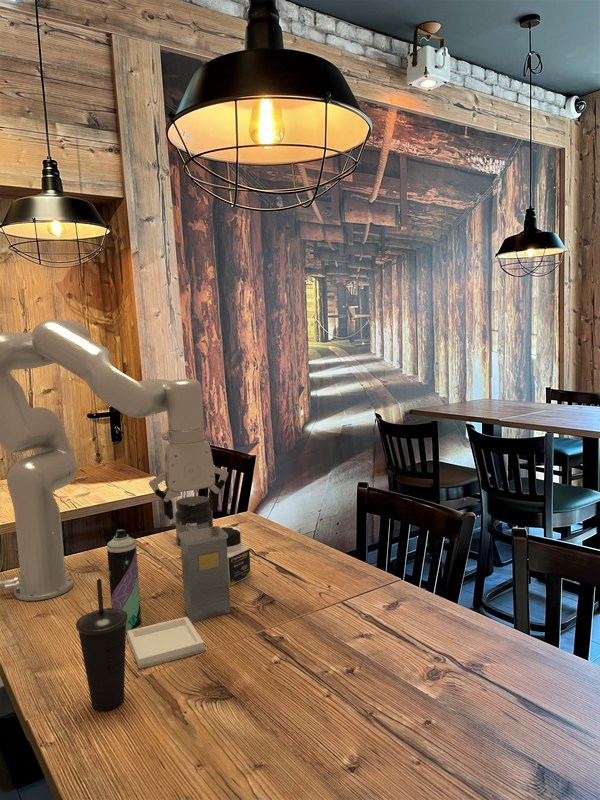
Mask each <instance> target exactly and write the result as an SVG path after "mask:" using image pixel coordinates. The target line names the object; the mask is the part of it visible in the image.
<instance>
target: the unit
mask: <svg viewBox="0 0 600 800" xmlns="http://www.w3.org/2000/svg"><path fill="white" fill-rule="evenodd" d="M221 528H222V527H220V526H219V525H215V526H214V525H213V527H208V528H202V529H197V530H191V531H186V532H180V533H178V537H179V538H180V540H181V545H180V553H181V554H180V555H181V569H182V585H183V586H182V587H183V605H184V612H185V613H186V614H187V617H188V619H189V620H190V622H191V623H196V622H200V621H204V620H208V619H211V618H217V617H219V616H224V615H228V614H231V603H230V601H231V599H230V598H231V597H230V586H229V578H228V559H227V541H226V538H228V534H227V533H226V532H225V531H224V530H222V529H221Z"/></svg>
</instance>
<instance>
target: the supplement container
mask: <svg viewBox="0 0 600 800" xmlns="http://www.w3.org/2000/svg"><path fill="white" fill-rule="evenodd" d="M175 509H176V511H175V513H174V517H175V533H176V534H175V535H176V537H175V539H176V542H177V544H178V545H180V546H181V540H180V538H179V537H178V533H180V532H186V531H191V530H197V529H202V528H208V527H214V523H213V522H214V521H213V520H214V519H213V517H214V516H213V514H214V512H213V511H212V510H211V509H210V506H209V496H205V495H204V496H203V495H202V496H201V495H194V496H192V495H191V496H185V497H181V498H180V499H177V500H176V502H175Z"/></svg>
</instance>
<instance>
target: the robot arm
mask: <svg viewBox="0 0 600 800" xmlns="http://www.w3.org/2000/svg"><path fill="white" fill-rule="evenodd" d="M52 364H57V365H58V366H60V367H62V368H64V369H65V370H66V371H68V372H70V373H72V374H74V375H75V376H76V377H78V378H80V379H82V380H83V381H84V382H86V384H87V387H88V388H89V390H91V391H92V393H93V394H94V395H95V396H96V397H97V398H98V399H99V400H101V401H102V402H104V403H105V404H107V405H108V406H109V407H111V408H113V409H115V410H117V411H119V412H120V413H122V414H123V415H125V416H128V417H132V418H135V419H137V418H138V419H143V418H147V417H149V416H152V415H157V414H160V413H164V412H167V426H168V429H167V432H165V433H162V434H161V439H162V441H166V442H167V441H168V443H167V444H166V448H165V457H164V472H162V473H160V474H158V475H157V476H156V477H155V478H153V479H151V480H150V481H149V482H148V486H149V487H150V488H151V490H152V491H153V492H154V494H155V495H156V496H157V497H159V498H160V499H161V500H162V502H163V503H162V504H163V514H164V516H166V517H167V518H168V520H173V519H174V507H173V501H172V500H171V499H172V497H173V496H174V494H175V493H184V492H189V491H195V490H203V489H209V492H208V498H209V506H210V509H211V510H212V511H213V513H217V512H218V507H219V493H220V491H221V490H222V488H223V487H224V486H225V484H226V481H227V478H228V476H229V472H228V471H227V470H225V469H222V468H221V467H220V468H219V467H218V466H215V465H214V460H213V453H212V449H211V446H210V442H209V440H206V439H205V424H204V423H205V422H204V421H205V420H204V408H203V391H202V384H201V382H200V381H199V380H198V379H194V378H193V379H192V378H188V379H187V378H184V379H173V380H171V379H170V380H169V379H168V380H167V379H159V378H152V379H146V380H140V381H139V380H136V379H134V378H133V377H131V376H129V375H127V374H126V373H123V372H122V371H121V370H119V369H118V368H116V366H114V365H113V364H112V363H111V352H110V350H109V349H108V348H107V347H105V346H104V345H102V344H100V343H99V342H97V341H95V340H93V339H92V336H91V334H90V332H89V330H88V329H87V327H86V326H84V325H83V324H82V323H80V322H78V321H76V320H68V319H67V320H66V319H47V320H44V321H42V322H40V323H38V324H37V325H36V326H35V327H34V328H33V330H32V332H14V331H13V332H12V331H11V332H7V331H5V332H0V446H1V447H2V449H3V450H5V451H6V452H8V453H11V454H19V453H24V452H28V451H31V450H32V452H33V453H34V454H33V455H29V456H27V457H24V458H21V459H20V460H18V461H16V462H15V463H14V464H13V465H12V466H11V467H10V469H9V471H8V473H7V477H6V485H7V489H8V493H9V495H10V499H11V503H12V507H13V513H14V521H15V531H16V540H17V552H18V562H19V564H18V566H19V571H18V575H14V576H13V577H10V578H3V579H0V590H1V589H4V591H9V590H13V589H14V591H13V593H14V597H15V599H17V600H21V601H25V602H26V601H27V602H29V601H30V602H35V601H43V600H48V599H52V598H55V597H59V596H61V595H63V594H65V593H66V592H68V591H70V590H71V589H72V587H73V586H74V579H73V578H72V577H71V576H69V575H66V567H65V565H66V564H65V554H64V553H65V552H64V542H63V541H64V540H63V529H62V528H63V527H62V520H61V519H62V517H61V511H60V507H59V504H58V502H57V500H56V498H55V496H54V493H53V492H56V491H57V490H59V489H61V488H64V487H66V486H67V485H69V484H71V483H72V482H73V481H74V479H75V478H76V475H77V470H78V467H77V466H78V465H77V460H76V457H75V455H74V452H73V450H72V447H71V443H70V441H69V438H68V436H67V433H66V431H65V428H64V426H63V423H62V421H61V419H60V418H59V416H58V415H57V414H56V413H55V412H53V411H52V410H51V409H50V408H49V409H48V408H46V407H43V406H42V407H40V406H39V407H38V406H36V407H31V406H30V404H29V402H28V399H27V396H26V394H25V391H24V389H23V387H22V385H21V384H20V383H19V382H18V380H17V379H16V378H15V377H14V376H13V375H12V374H11V372H12V371H15V370H18V371H19V370H29V369H38V368H42V367H45V366H50V365H52ZM216 474H217V475H219V478H218V480H217V481H216ZM162 482H165V486H166V487H165V489H164V491H162V490H161V489H160V488H159V484H162Z"/></svg>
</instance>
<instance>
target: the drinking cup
mask: <svg viewBox="0 0 600 800" xmlns="http://www.w3.org/2000/svg"><path fill="white" fill-rule="evenodd" d="M102 585H103V583H102V579H101V578H98V579H97V580H96V589H97V602H98V603H97V604H98V609H95V610H93V611H90V612H88V613H86V614H84V615H82V616H81V617H79V618H78V620H77V621H76V623H75V629H76V631H77V632H78V636H79V641H80V642H79V643H80V647H81V652H82V657H83V662H84V668H85V673H86V681H87V685H88V690H89V695H90V702H91V706H92V709H93V710H94V711H97V712H110V711H112V710H115V709H117V708H119V707H120V706H121V705H122V704H124V701H125V684H126V682H125V680H126V676H125V675H126V673H125V672H126V635H127V634H126V622H127V619H128V616H127V613H126V612H125V611H123V610H120V609H113V608H109V607H105V608H104V598H103V588H102V587H103V586H102Z"/></svg>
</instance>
